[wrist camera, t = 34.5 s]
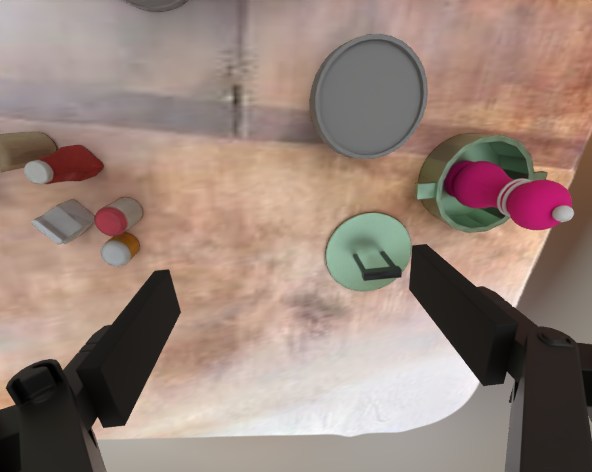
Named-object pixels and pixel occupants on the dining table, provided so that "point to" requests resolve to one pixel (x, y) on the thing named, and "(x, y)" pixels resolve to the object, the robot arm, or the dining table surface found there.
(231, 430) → the dining table surface
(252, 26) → the dining table surface
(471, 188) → the pepper mill
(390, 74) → the reusable coffee cup
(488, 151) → the pot
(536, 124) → the dining table surface
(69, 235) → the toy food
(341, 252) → the lid
